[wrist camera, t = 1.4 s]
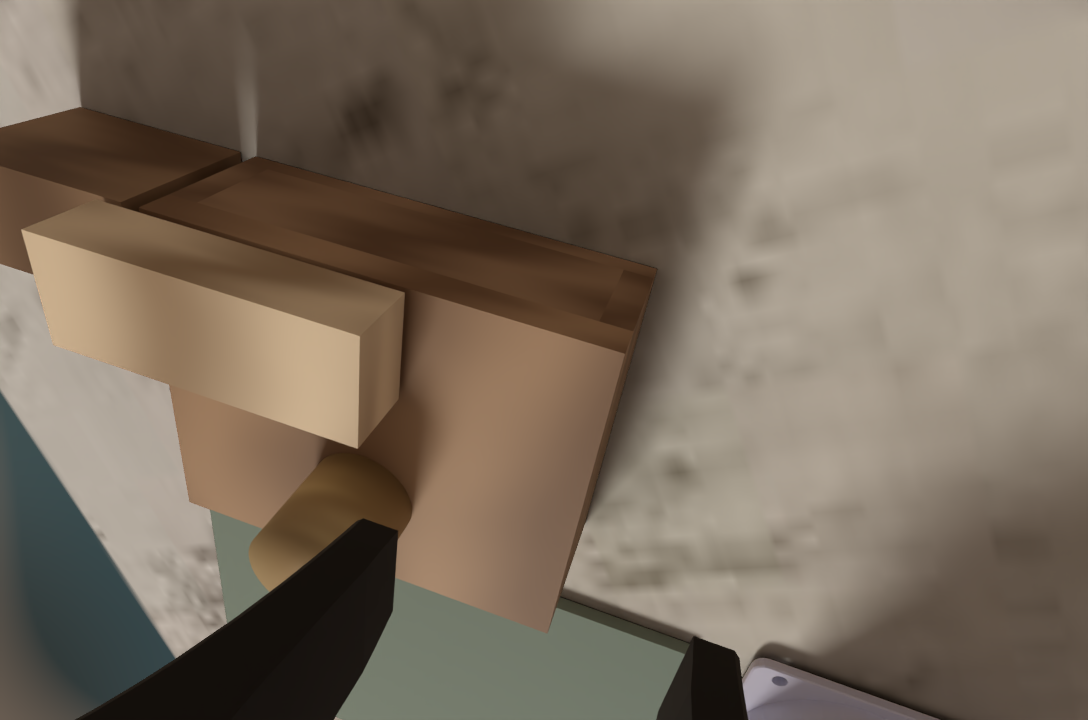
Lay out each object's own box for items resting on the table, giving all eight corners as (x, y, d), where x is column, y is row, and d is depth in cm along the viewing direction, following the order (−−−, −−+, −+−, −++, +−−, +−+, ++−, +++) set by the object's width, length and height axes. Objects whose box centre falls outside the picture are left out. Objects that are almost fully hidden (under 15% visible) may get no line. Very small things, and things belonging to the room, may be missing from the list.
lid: (633, 331, 16) (592, 438, 12) (556, 606, 21) (514, 729, 18) (168, 194, 18) (27, 255, 14) (210, 481, 23) (115, 573, 20)
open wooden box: (657, 268, 19) (625, 353, 15) (584, 526, 24) (547, 633, 21) (80, 107, 21) (-68, 145, 18) (134, 372, 27) (31, 443, 23)
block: (405, 292, 16) (359, 336, 14) (398, 399, 17) (358, 449, 16) (95, 199, 17) (21, 229, 15) (118, 307, 18) (53, 344, 17)
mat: (693, 644, 26) (691, 656, 25) (610, 816, 34) (608, 827, 33) (213, 472, 29) (205, 480, 28) (241, 667, 37) (235, 675, 36)
